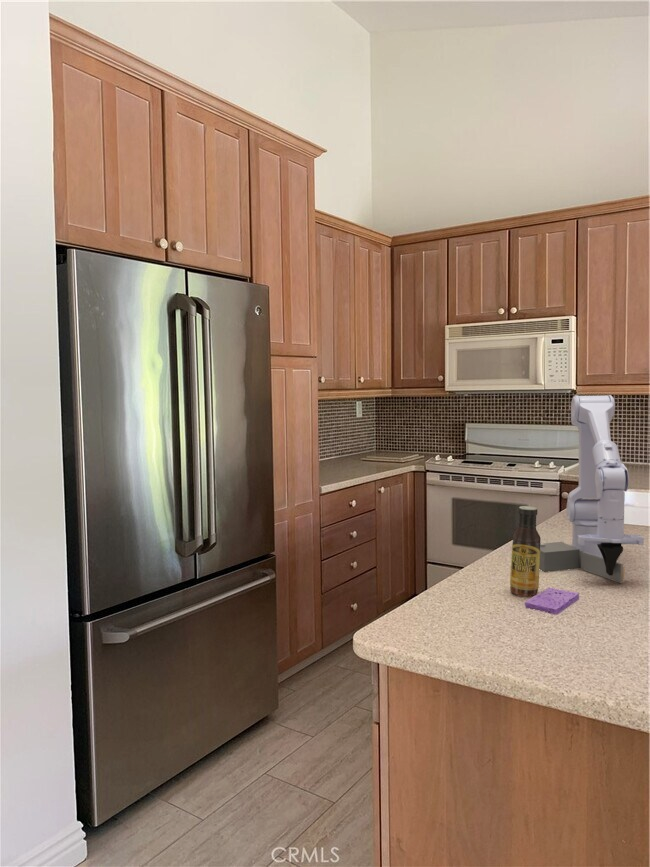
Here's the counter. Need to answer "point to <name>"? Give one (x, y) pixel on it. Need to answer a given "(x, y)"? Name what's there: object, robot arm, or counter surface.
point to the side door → (600, 566)
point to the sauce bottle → (525, 554)
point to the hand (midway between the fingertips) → (609, 574)
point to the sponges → (552, 600)
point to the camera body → (558, 557)
